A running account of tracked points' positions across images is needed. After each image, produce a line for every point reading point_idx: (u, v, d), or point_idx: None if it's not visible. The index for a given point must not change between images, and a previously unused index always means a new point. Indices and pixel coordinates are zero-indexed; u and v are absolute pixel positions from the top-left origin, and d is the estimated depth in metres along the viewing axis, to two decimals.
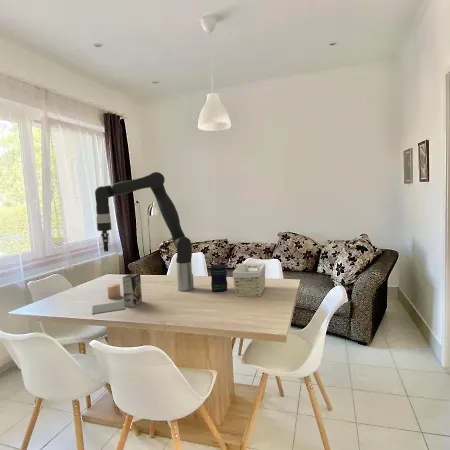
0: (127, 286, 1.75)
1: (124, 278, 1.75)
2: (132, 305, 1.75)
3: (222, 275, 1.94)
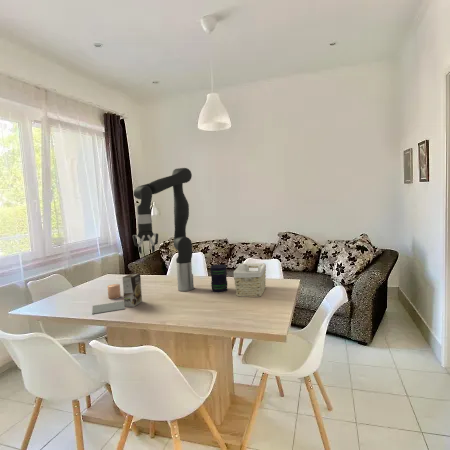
0: (127, 286, 1.75)
1: (124, 278, 1.75)
2: (132, 305, 1.75)
3: (222, 275, 1.94)
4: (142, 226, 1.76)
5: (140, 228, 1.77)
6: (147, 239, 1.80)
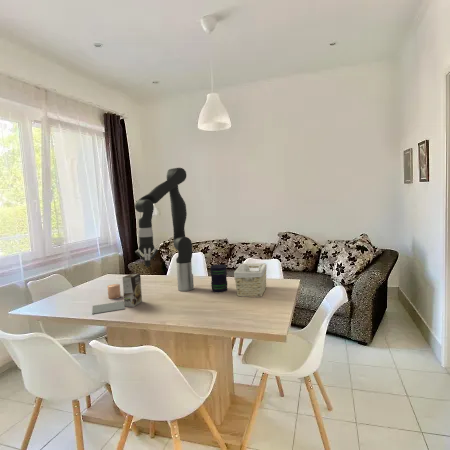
0: (127, 286, 1.75)
1: (124, 278, 1.75)
2: (132, 305, 1.75)
3: (222, 275, 1.94)
4: (143, 239, 1.77)
5: (141, 241, 1.77)
6: None
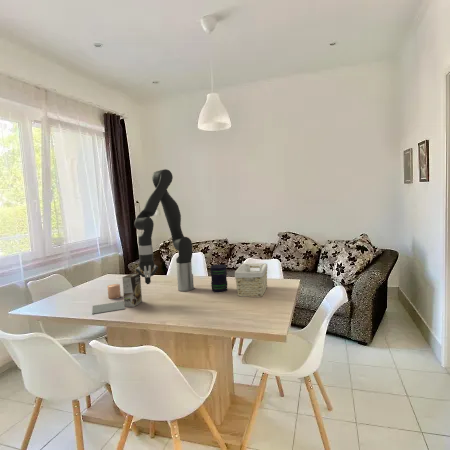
0: (127, 286, 1.75)
1: (124, 278, 1.75)
2: (132, 305, 1.75)
3: (222, 275, 1.94)
4: (143, 257, 1.77)
5: (141, 259, 1.78)
6: None
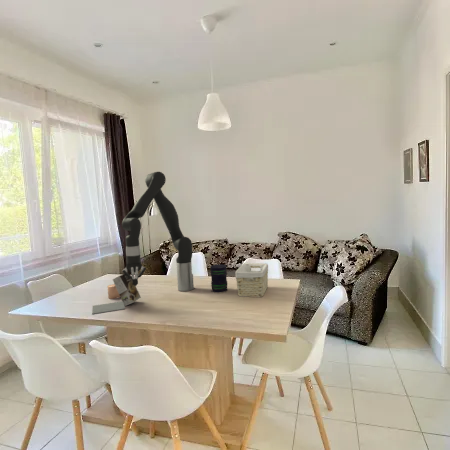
0: (120, 286, 1.76)
1: (114, 279, 1.76)
2: (131, 302, 1.75)
3: (222, 275, 1.94)
4: (130, 258, 1.75)
5: (128, 260, 1.75)
6: (135, 271, 1.78)
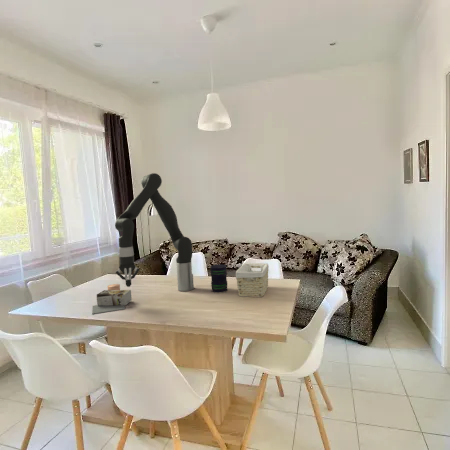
0: (105, 300, 1.77)
1: (98, 303, 1.78)
2: (123, 296, 1.76)
3: (222, 275, 1.94)
4: (123, 259, 1.74)
5: (121, 261, 1.74)
6: None
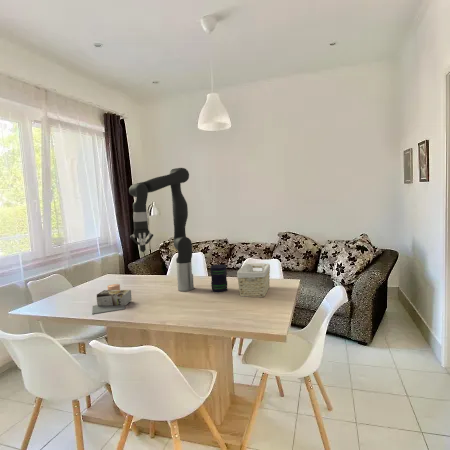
0: (105, 301, 1.77)
1: (98, 303, 1.78)
2: (123, 296, 1.76)
3: (222, 275, 1.94)
4: (137, 224, 1.75)
5: (136, 226, 1.76)
6: None
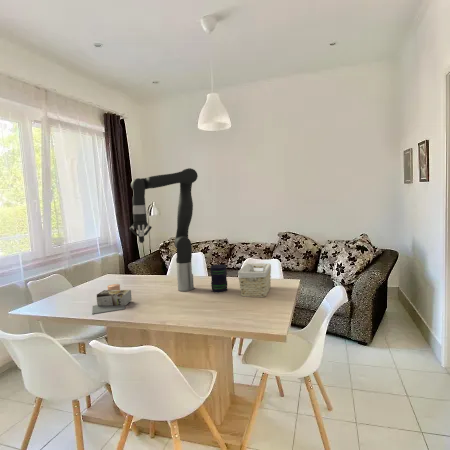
0: (105, 301, 1.77)
1: (98, 303, 1.78)
2: (123, 296, 1.76)
3: (222, 275, 1.94)
4: (137, 216, 1.87)
5: (135, 218, 1.87)
6: None
